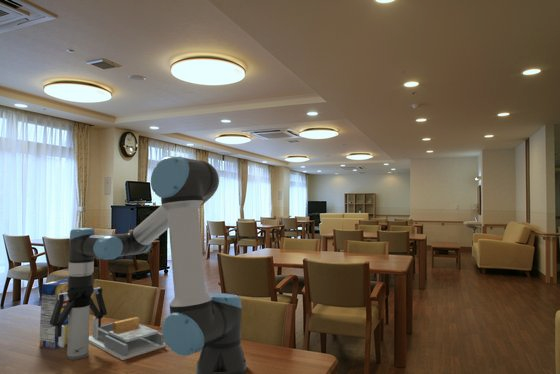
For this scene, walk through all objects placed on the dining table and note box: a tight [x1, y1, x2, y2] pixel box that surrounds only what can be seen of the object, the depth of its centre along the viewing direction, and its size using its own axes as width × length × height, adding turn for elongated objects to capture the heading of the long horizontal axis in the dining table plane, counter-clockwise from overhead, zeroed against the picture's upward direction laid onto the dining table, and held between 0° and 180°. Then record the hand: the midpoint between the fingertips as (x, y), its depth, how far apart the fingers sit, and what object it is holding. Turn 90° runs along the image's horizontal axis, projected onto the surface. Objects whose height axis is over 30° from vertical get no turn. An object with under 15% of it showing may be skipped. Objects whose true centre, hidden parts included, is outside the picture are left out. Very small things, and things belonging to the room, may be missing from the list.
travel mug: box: [66, 295, 91, 361], centre depth 128 cm, size 6×7×20 cm
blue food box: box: [39, 278, 69, 350], centre depth 140 cm, size 7×11×22 cm, turn 163°
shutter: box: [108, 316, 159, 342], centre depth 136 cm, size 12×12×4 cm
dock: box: [89, 322, 166, 361], centre depth 139 cm, size 28×16×4 cm, turn 50°
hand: (78, 341), depth 127 cm, fingers open, 10 cm apart
